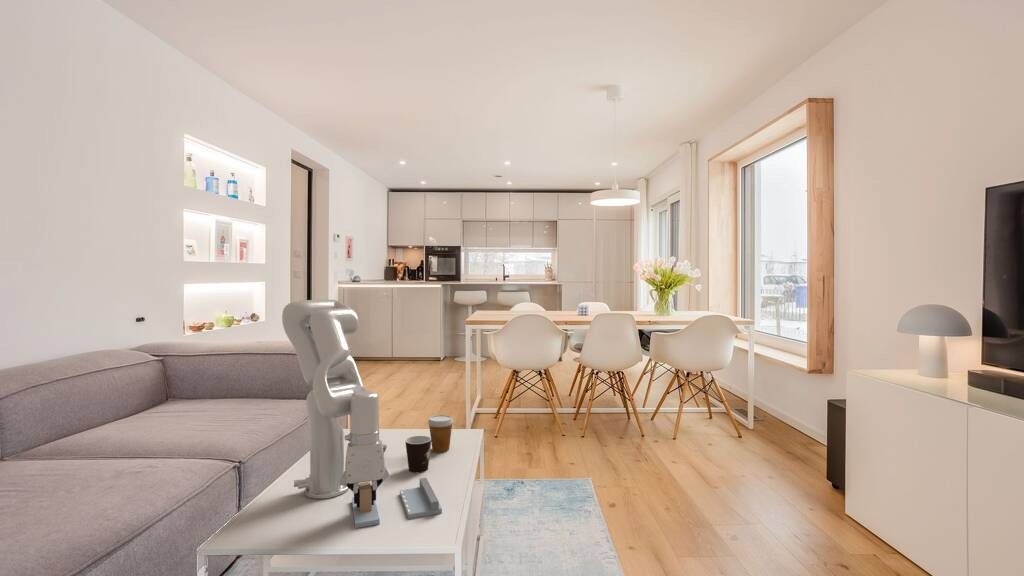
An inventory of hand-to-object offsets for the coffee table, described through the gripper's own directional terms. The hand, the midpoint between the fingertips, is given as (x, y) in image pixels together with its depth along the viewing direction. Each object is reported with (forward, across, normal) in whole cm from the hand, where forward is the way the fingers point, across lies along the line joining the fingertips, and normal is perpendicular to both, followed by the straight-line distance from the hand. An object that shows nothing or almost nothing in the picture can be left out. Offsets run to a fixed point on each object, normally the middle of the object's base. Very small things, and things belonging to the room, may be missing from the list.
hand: (365, 503), depth 131 cm
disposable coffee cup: (+3, +30, +41) cm, 51 cm away
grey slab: (+2, 0, 0) cm, 2 cm away
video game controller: (+3, +7, +38) cm, 38 cm away
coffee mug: (+3, +20, +26) cm, 33 cm away
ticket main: (+2, +15, 0) cm, 15 cm away
